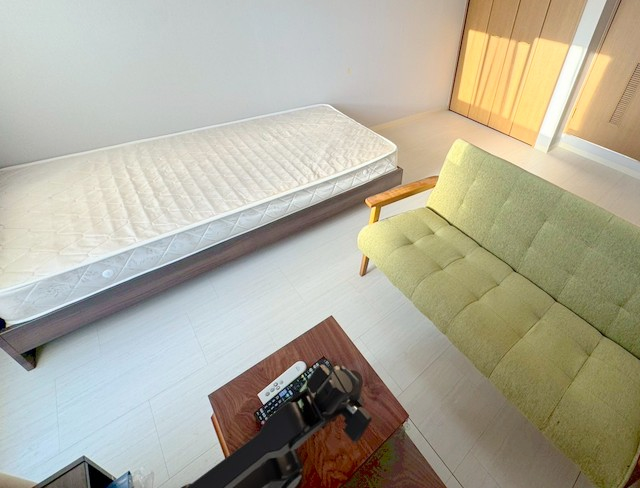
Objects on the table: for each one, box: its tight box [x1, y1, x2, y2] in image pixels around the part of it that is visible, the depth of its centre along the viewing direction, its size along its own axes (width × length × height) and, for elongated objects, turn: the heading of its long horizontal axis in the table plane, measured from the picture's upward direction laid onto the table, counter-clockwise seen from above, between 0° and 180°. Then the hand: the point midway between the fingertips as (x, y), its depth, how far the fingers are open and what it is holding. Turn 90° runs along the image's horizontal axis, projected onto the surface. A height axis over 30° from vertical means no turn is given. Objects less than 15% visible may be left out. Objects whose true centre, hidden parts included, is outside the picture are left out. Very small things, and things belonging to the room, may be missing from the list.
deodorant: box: [348, 369, 364, 407], centre depth 82 cm, size 6×6×15 cm
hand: (353, 391), depth 83 cm, fingers closed on deodorant, 6 cm apart
